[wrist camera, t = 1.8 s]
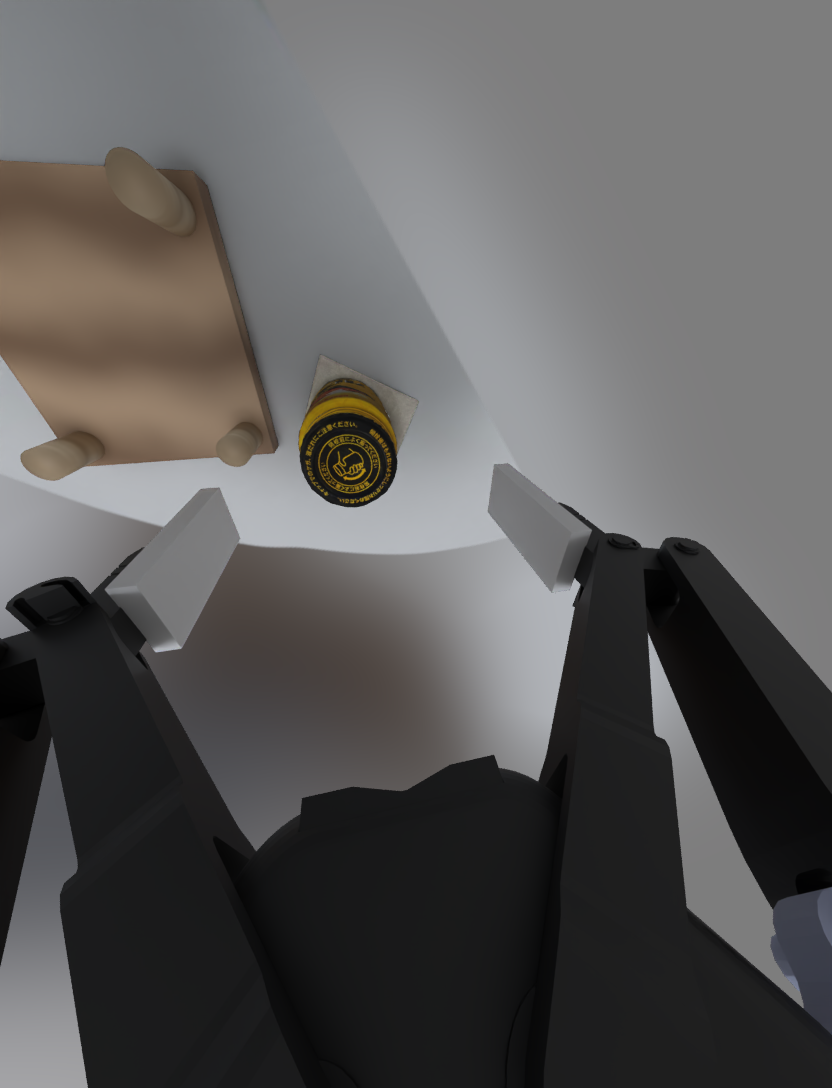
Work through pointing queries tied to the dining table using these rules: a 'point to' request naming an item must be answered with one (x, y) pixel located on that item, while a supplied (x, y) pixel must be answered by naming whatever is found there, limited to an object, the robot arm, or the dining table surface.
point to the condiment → (352, 435)
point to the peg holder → (124, 317)
